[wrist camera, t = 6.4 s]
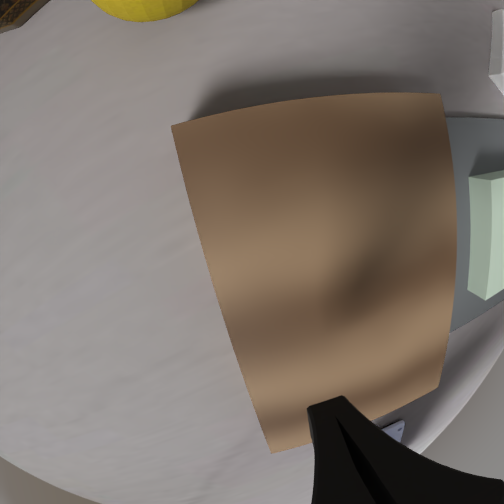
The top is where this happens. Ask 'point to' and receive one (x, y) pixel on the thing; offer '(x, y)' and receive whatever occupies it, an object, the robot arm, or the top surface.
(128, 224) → the top surface
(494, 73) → the soap bar
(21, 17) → the ceramic cup
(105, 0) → the lemon
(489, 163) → the mat
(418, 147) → the board
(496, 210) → the tile
